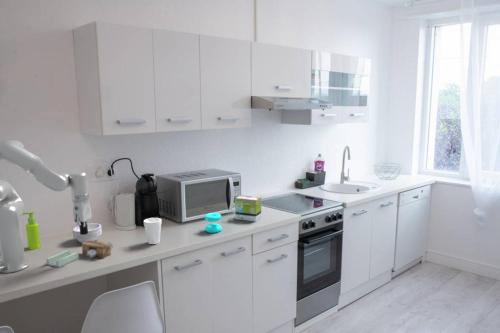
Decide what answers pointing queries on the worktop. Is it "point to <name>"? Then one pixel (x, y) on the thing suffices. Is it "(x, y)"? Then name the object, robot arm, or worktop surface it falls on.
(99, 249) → the brown wooden block
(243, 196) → the tea box
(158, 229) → the foam cup
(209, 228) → the donuts
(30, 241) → the soap dispenser
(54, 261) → the cradle
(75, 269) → the worktop surface
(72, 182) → the robot arm
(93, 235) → the paper bowls
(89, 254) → the axle
